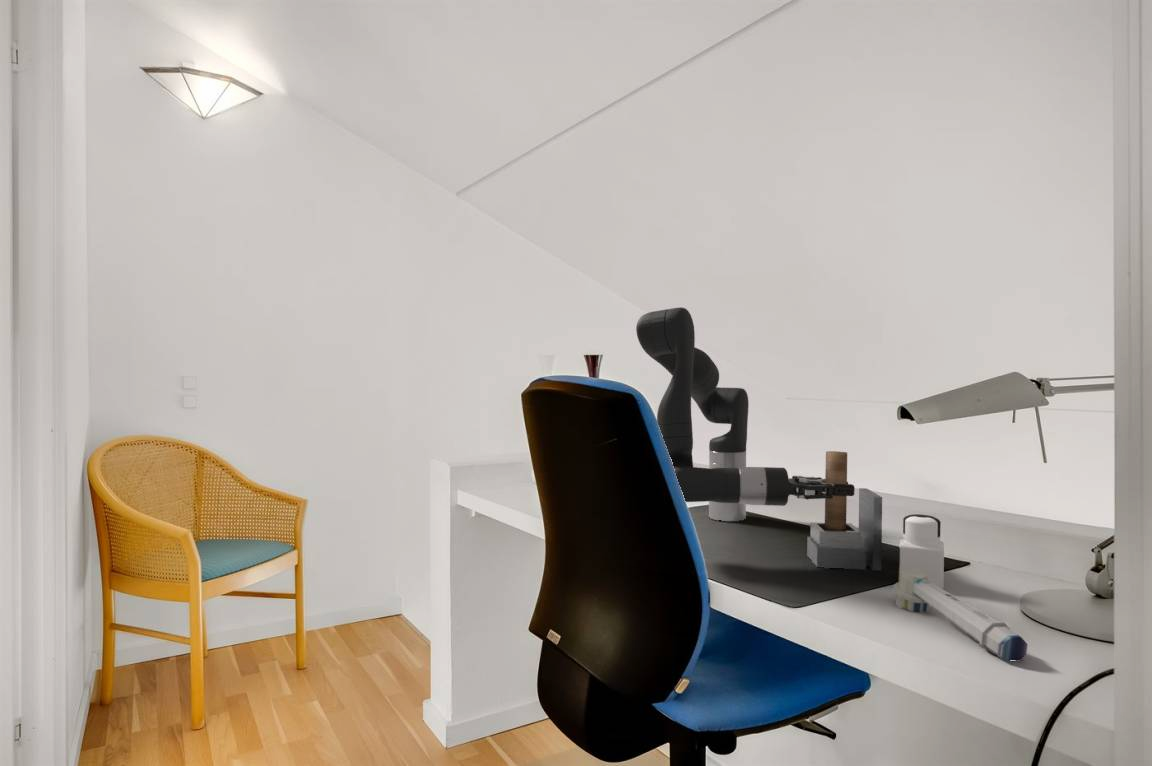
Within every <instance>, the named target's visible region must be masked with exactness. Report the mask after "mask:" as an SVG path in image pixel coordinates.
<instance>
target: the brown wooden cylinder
mask: <svg viewBox="0 0 1152 766" xmlns="http://www.w3.org/2000/svg"><path fill="white" fill-rule="evenodd" d="M824 474H825V478H824V479H825V483H833V484H847V482H848V452H846V451H835V450H834V451H833V450H831V451H830V450H829V451H825V473H824ZM824 493H827V488H825V492H824ZM847 497H848V496H834V497H833V498H831V499H829V498H825V499H824V523H825V530H829V531H846V523H847V508H848V507H847V503H848V502H847V500H848V499H847Z"/></svg>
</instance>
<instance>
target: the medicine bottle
mask: <svg viewBox="0 0 1152 766" xmlns="http://www.w3.org/2000/svg"><path fill="white" fill-rule="evenodd" d="M902 520H903V521H902V525H903V526H902V529H903V532H902V537H900V538H899V539H900V540H899V546H898V582H900V577H901V573H902V572H903V570H904V569H906V568H912V569H917V570H919V571H922V572H923V573H925V575H926V577H927V580H928V581H929V582H931V583H932V584H934V585H936V586H938V587H939V588H941V589H943V590H944V587H945V586H944V585H945V583H944V580H945V579H944V578H945V576H944V572H945V571H944V570H945V569H944V567H945V561H944V560H945V546H944V542H943V541H942V540H941V526H942V525H941V524H942V523H941V521H940V519H939V518H937V517H935V516H932V515H927V514H920V513H919V514H916V513H915V514H909V515H905V516H904V517H903V519H902Z"/></svg>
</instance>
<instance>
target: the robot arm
mask: <svg viewBox="0 0 1152 766" xmlns="http://www.w3.org/2000/svg"><path fill="white" fill-rule="evenodd" d="M635 329H636V336H637V339H638V342H639V344H640V346H641V348H642V349H643V351H644V352H645V353H646V354H647V355H648V356H649V357H650V358H652V359H653V360H654V361H655V362H656V363H658V364H659V365H661V366H662V367H663V368H664V369H666V371H667V372H668V373H669V374H671V376H672V377H671V380H670V382H669V384H668V386H667V388H666V390H665V392H664V394H663V396H662V398H661V399H660V403H659V405H658V408H657V413H656V414H657V415H656V424H657V423H658V425H659V427H660V430H661V433H662V435H663V439H664V441H665V444H666V446H667V449H668V452H669V455H670V457H671V459H672V462H673V466H674V469H675V473H676V476H677V479H678V482H679V485H680V487H681V490H682V492H683V495H684V498H685V501H686V502H685V503H691V502H692V503H693V502H694V503H697V502H699V503H701V502H703V503H704V502H708V517H710V518H709V519H711V520H714V521H719V520H721V522H741V521H744V519H745V520H746V519H747V505H749V506H777V507H778V506H779V507H784V506H786V505H787V504H788V502H789V497H790V496H795V497H796V499H802V500H803V499H804V500H819V499H820V500H821V499H822V500H823V499H824V500H825V498H829V499H831V498H833V497H834V496H847V497H853V496H855V485H854V484H852V483H849V482H848V481H847V484H833V483H825V478H822V477H820V476H819V477H815V476H802V475H792V476H791V478H789V473H788V470H787V469H786V468H785V467H773V466H769V467H768V466H767V467H765V466H748V467H747V443H748V442H747V440H748V422H749V421H748V420H749V405H750V404H749V396H748V393H747V391H746V389H745V388H742V387H719V386H718V385H719V381H720V371H719V369H718V366H717V364H715V362H714V360H713V359H712V358H711V357H710V356H709V355H708V354H707V353H706V352H705V351H704V350H702V349H700V348H698V347H695V345H696V343H695V342H696V339H695V338H696V337H695V336H696V335H695V334H696V332H695V325H694V321H693V317H692V315H691V313H690V312H689V310H688V309H687V308H686V307H674V308H668V309H661V310H655V311H649V312H647V313H645V314H642V315H641V316H639V319H638V320H637V322H636V327H635ZM692 399H693V401H694V402H695V403H696V405H697V406H698V409H699V410H700V412H701V413H702V415H703V416H704V418H705V420H707V421H708V422H710V423H713V424H721V425H722V424H723V425H730V430H729V431H727V432H726V433H725V434H722V435H720V436H719V435H718V436H717V437H716V436H715V437H713V438H711V439H710V440H709V443H708V444H709V445H708V447H709V448H708V450H709V451H708V452H709V453H708V454H709V455H708V458H709V460H708V462H709V463H708V464H709V465H708V467H707V468H706V467H697V466H695V467H694V461H693V447H694V438H693V436H694V435H693V433H694V432H693V421H692V419H693V418H692ZM825 488H827V493H825ZM740 520H741V521H740Z"/></svg>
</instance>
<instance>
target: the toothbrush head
mask: <svg viewBox="0 0 1152 766" xmlns="http://www.w3.org/2000/svg"><path fill="white" fill-rule="evenodd" d="M893 592H894V594H895V595H894V597H895V598H894V601H895V605H896V606H897V607H898V608H900V609H902V610H904V609H906V610H908V611H909V612H913V613H926V612H928V611H929V610H930V607H931V608H932V609H934V610H935V611H937V612H938V613H939V614H940V615H942V616H943V617H945V618H946V619H947V620H948V621H949V622H951V624H954V625H955V626H956V627H958V628H959V629H960V630H962V631H963V632H964V633H965V634H967V635H968V636H970V637H971V638H972V639H974V640H975V641H976V642H978V643H979V645H980V646H981V647H982V648H983V649H984V651H986V652H987V653H990V652H991V653H992V654H994V655H995V656H996V655H997V657H998V658H999V657H1000V658H999V659H1001V660H1002V659H1003V660H1002V661H1004V662H1005V661H1010V660H1021V661H1022V660H1023V659H1024V658H1025V657H1026V656H1027V654H1028V651H1027V650H1028V643H1027V642H1026V640H1025V639H1024V638H1023V637H1022V636H1020V635H1019V634H1017V633H1016V632H1014V631H1013V630H1012V629H1011V628H1010V627H1009V626H1008V625H1007V624H1006V622H1004V621H1002V620H1001V621H997V620H996V619H994V618H992V617H990V616H989V615H987V614H986V613H984V612H982V611H980V610H979V609H977V608H975V607H973V606H972V605H970V604H968V603H966V602H965V601H963V600H961V599H960V598H958V597H956V596H955V595H953V594H951V593H949V592H948V591H946V590H944V588H943V589H941V588H939V587H938V586H936V585H934V584H932V583H931V582H929V581H928V580H927V577H926V575H925V573H923V572H922V571H919V570H917V569H912V568H906V569H904V570H903V572H902V573H901V577H900V582H899V581H898V582H896V583H894V584H893Z"/></svg>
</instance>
